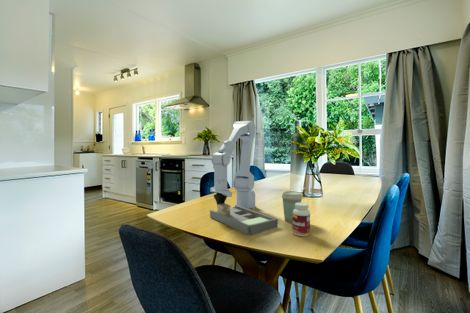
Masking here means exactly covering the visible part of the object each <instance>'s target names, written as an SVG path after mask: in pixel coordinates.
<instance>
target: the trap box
mask: <svg viewBox="0 0 470 313" xmlns="http://www.w3.org/2000/svg"><path fill="white" fill-rule="evenodd" d="M234 206H235V207H232V208H230V215H223V214H221V213H218V212H217V211H216V210H213V209H210V210H209V217H210V218H212V219H213V220H215V221H217V222H220V223H222V224H224V225H226V226H228V227H231V228H233V229H235V230H237V231H238V232H241V233H243V234H245V235H248V236H251V235H254V234H255V235H256V234H258V233H259V234H260V233H262V232H266V231H269V230H272V229H276V228H278V227H279V226H278V220H279V219H278V218H276V217H272V216H270V215H267V214H264V213H261V212H258V211H255V210H252V209H246V208H243V207H240V206H237V204H236V205H234Z"/></svg>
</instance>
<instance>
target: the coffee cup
mask: <svg viewBox="0 0 470 313" xmlns="http://www.w3.org/2000/svg"><path fill="white" fill-rule="evenodd" d="M281 198H282V207H283V215H284V216H283V217H284V222H287V223H290V224H292V222H293V210H294V209H296V208H295V203H299V202H302V199H303V195H302V192H299V191H293V190H292V191H291V190H290V191H289V190H288V191H283V193H282V195H281Z"/></svg>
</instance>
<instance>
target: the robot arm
mask: <svg viewBox="0 0 470 313" xmlns="http://www.w3.org/2000/svg"><path fill="white" fill-rule="evenodd" d="M255 136H256V123H255V122H254V120H240V121H238V120H237V121H235V122H234V123H233V125H232V132H231V134H230V135H229V138H228V139H227V140H224V141H223V142H222V145H221V146H220V147H219V149H218V151H217V152H215V153H213V155H212V158H211V164H212V168H213V170H214V171H213V172H214V173H213V174H214V175H213V176H214V177H213V178H214V179H213V180H214V183H213V184H214V185H213V186H212V187H210V188H209V189H210V192H211V193H215V194H213V198H214V199H215V203H216V206H217V209H218V204H222V203H225V202H226V200H227V199H228V198H232V197H233V191H230V190H229V189H228V166H229V165H230V163H231V158H232V154H233V152H234V151H235V149H236V145H235V144H236V142H238V140H239V139H241V141H242V143H241V144H242V145H241V153H240V161H239V162H240V163H239V171H238V170H237V172H236V173H235V174H234V178H233V180H232V185H233V188H234V190H235V191H236V205H237V206H240V207H243V208H246V209H249V210H251V209H255V208H257V206H256V192H255V191H254V190H253V189H254V188H255V176H254V174H253V173H251V171H250V168H251V159H252V151H253V150H252V149H253V140H254V139H255ZM232 208H235V205H233V206H232Z"/></svg>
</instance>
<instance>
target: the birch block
mask: <svg viewBox="0 0 470 313" xmlns="http://www.w3.org/2000/svg"><path fill="white" fill-rule="evenodd" d="M230 209H231V205H230V204H228V203H227V202H226V203H222V204H218V208H217V212H218V213H221V214H223V215H230Z"/></svg>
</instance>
